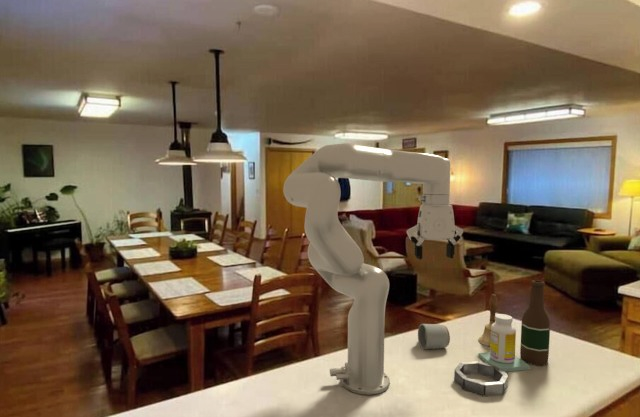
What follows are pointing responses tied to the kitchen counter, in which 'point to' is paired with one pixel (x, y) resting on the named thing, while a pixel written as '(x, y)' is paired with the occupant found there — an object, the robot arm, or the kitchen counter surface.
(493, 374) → the collar
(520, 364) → the pad
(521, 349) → the beer bottle
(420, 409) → the kitchen counter surface
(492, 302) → the hand bell
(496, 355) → the supplement bottle
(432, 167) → the robot arm
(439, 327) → the ceramic mug
